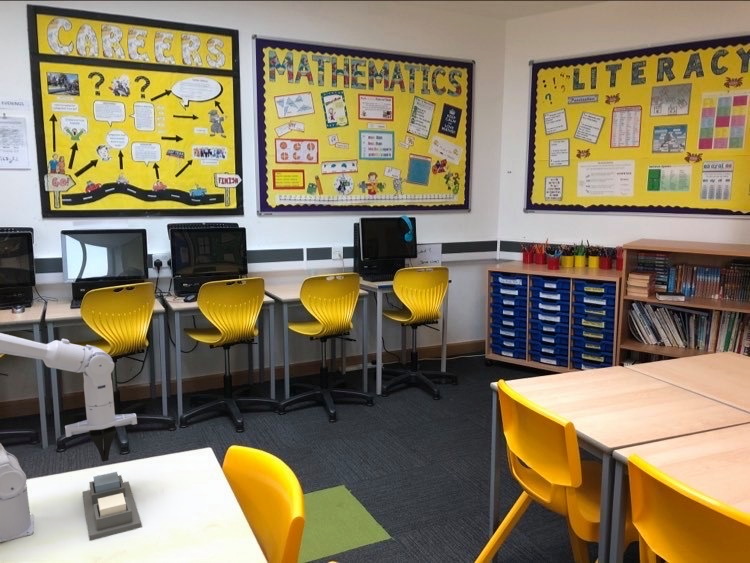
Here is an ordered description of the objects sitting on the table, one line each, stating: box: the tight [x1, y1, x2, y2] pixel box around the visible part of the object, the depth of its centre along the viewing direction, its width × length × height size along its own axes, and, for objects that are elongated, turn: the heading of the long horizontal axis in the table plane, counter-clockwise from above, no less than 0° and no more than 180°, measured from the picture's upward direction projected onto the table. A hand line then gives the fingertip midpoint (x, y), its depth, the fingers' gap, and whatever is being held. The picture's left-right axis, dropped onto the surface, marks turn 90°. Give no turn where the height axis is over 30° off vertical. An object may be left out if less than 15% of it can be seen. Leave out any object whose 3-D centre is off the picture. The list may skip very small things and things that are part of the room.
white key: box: [98, 493, 126, 517], centre depth 131 cm, size 5×5×2 cm
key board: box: [82, 474, 143, 541], centre depth 136 cm, size 10×20×4 cm, turn 28°
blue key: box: [93, 471, 120, 493], centre depth 141 cm, size 5×5×2 cm
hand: (104, 459), depth 140 cm, fingers closed
